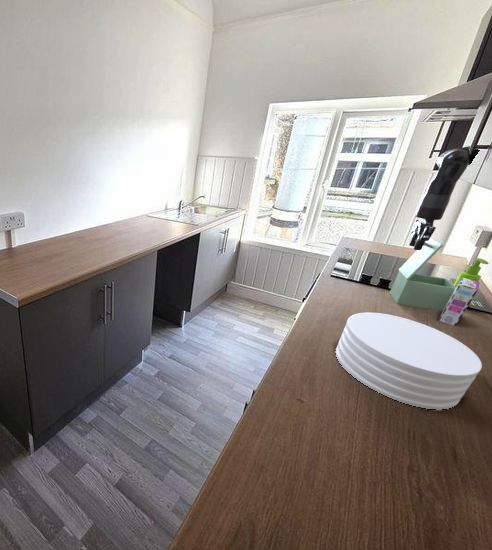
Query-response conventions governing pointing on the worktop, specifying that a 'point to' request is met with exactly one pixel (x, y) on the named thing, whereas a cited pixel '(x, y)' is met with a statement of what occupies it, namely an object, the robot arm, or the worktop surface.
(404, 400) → the plate stack
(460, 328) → the worktop surface
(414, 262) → the lid
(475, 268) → the soap dispenser
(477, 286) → the candy bar box
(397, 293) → the chest
